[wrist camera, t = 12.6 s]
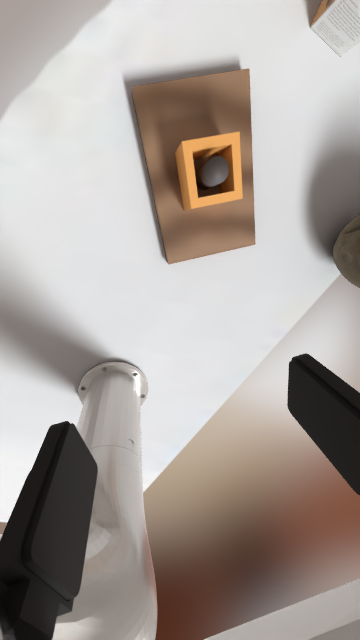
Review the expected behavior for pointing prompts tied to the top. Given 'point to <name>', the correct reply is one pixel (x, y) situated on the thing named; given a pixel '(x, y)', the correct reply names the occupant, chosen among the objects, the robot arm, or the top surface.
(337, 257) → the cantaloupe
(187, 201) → the orange square ring
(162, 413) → the top surface
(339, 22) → the small box
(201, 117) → the board
